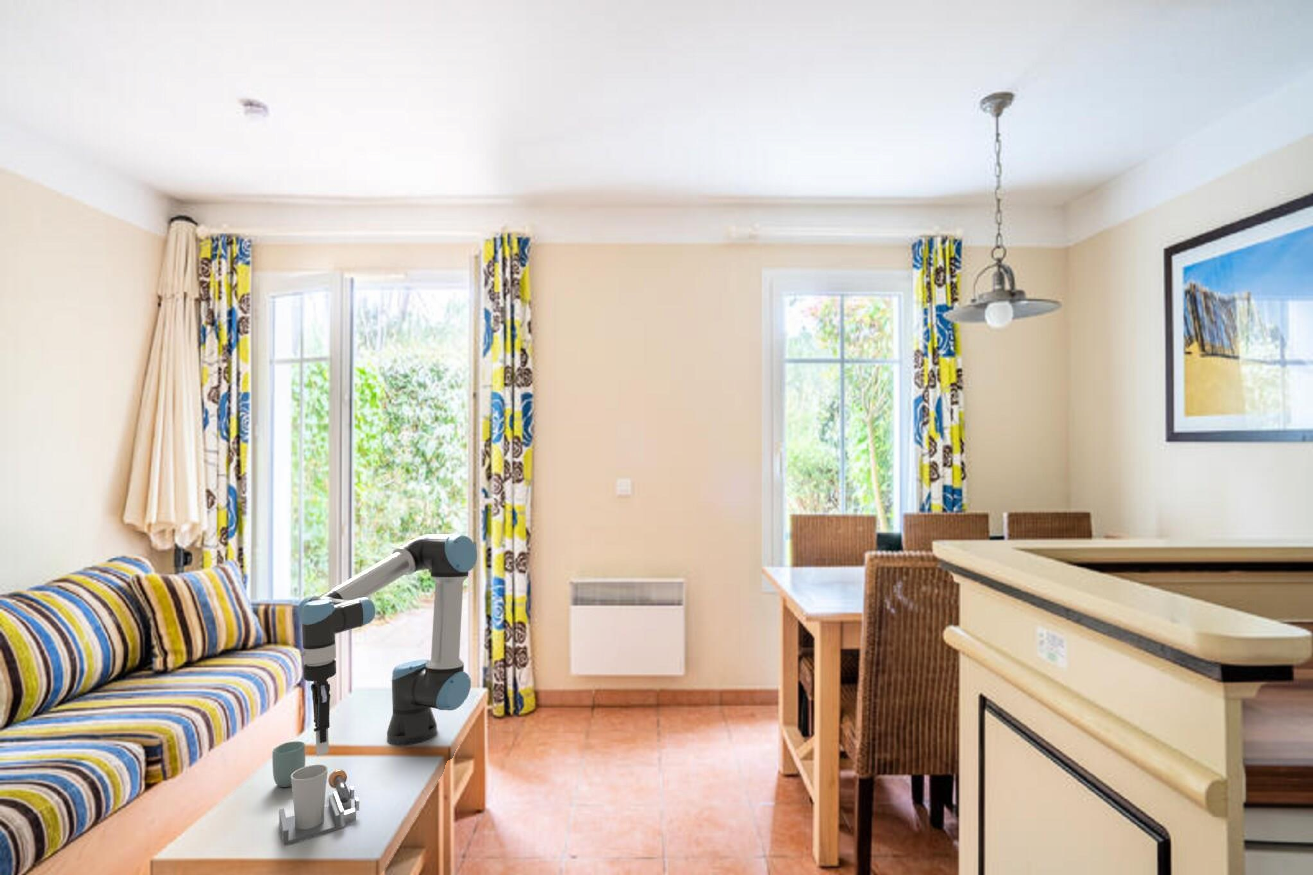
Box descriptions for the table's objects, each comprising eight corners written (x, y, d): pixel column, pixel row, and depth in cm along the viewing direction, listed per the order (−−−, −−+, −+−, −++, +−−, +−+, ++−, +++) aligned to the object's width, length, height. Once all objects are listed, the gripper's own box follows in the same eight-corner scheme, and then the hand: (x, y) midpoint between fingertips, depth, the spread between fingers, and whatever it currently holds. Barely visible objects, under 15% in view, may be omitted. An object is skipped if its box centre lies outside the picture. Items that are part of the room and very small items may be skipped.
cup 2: (335, 816, 164) (335, 766, 164) (308, 833, 156) (308, 781, 157) (310, 811, 166) (310, 762, 167) (283, 828, 159) (283, 777, 159)
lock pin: (328, 788, 177) (328, 772, 177) (346, 784, 179) (346, 767, 180) (335, 809, 166) (335, 791, 166) (354, 803, 169) (354, 786, 169)
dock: (333, 807, 169) (333, 794, 169) (340, 828, 159) (340, 814, 159) (279, 823, 163) (279, 809, 163) (283, 845, 153) (283, 831, 153)
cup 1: (291, 791, 179) (290, 753, 179) (266, 789, 180) (266, 752, 180) (311, 777, 186) (311, 741, 187) (287, 776, 188) (287, 740, 188)
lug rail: (352, 802, 172) (352, 784, 172) (360, 822, 162) (360, 803, 162) (333, 807, 169) (332, 789, 169) (340, 828, 159) (340, 809, 160)
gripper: (299, 658, 174) (302, 748, 174) (307, 671, 164) (310, 767, 163) (331, 652, 178) (334, 740, 178) (340, 664, 168) (343, 758, 168)
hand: (322, 753), depth 171 cm, fingers closed
